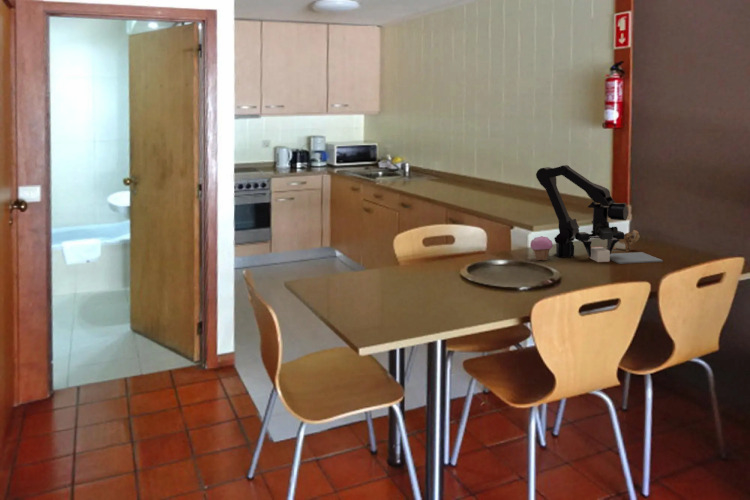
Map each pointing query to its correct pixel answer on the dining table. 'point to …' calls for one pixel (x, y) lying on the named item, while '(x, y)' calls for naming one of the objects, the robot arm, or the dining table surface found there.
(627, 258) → the mat
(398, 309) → the dining table surface
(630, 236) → the lion figurine
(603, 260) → the beige rectangular block
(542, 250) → the cupcake
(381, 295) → the dining table surface
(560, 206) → the robot arm
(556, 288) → the dining table surface
